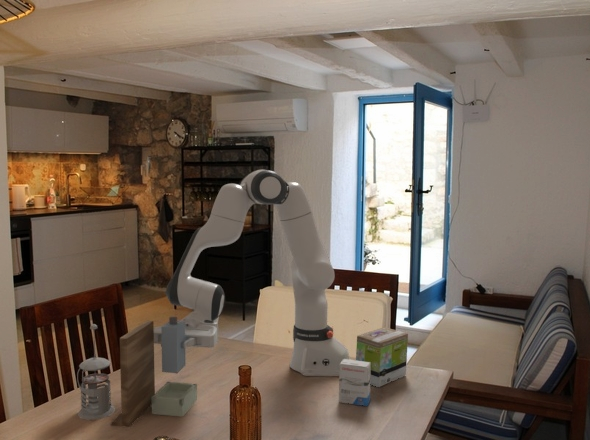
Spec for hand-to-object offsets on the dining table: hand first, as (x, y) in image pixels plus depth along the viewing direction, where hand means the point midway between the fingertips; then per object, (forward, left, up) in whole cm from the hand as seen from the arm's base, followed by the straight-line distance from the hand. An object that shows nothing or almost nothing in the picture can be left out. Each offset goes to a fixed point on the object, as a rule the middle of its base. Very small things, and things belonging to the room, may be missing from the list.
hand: (173, 345), depth 157 cm
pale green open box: (0, 0, -18) cm, 18 cm away
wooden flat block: (+9, +6, -18) cm, 21 cm away
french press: (+21, +7, -18) cm, 29 cm away
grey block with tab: (0, 0, -7) cm, 7 cm away
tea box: (-57, -33, -18) cm, 69 cm away
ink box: (-50, -14, -18) cm, 55 cm away
